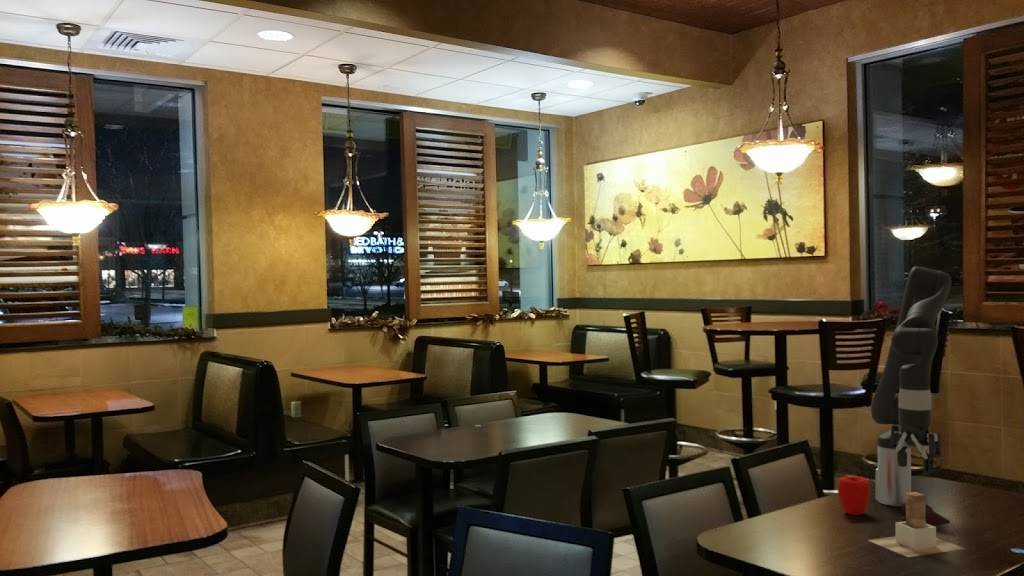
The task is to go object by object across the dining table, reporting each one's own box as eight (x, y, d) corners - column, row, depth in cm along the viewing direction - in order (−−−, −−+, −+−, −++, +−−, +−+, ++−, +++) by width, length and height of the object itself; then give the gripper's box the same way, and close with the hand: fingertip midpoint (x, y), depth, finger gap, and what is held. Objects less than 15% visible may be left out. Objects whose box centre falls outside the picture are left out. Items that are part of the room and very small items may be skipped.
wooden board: (867, 543, 219) (867, 540, 219) (922, 536, 224) (922, 532, 224) (907, 561, 205) (907, 557, 205) (965, 552, 211) (965, 548, 211)
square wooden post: (906, 539, 216) (905, 493, 216) (916, 538, 217) (915, 491, 217) (915, 543, 213) (915, 496, 212) (925, 542, 214) (925, 495, 213)
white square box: (895, 541, 217) (895, 522, 217) (916, 539, 219) (916, 520, 219) (915, 549, 211) (914, 529, 211) (936, 546, 213) (936, 527, 213)
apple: (855, 507, 252) (854, 471, 252) (877, 515, 244) (877, 478, 244) (831, 511, 249) (831, 474, 249) (852, 519, 241) (852, 481, 241)
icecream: (959, 510, 226) (910, 502, 239) (941, 506, 223) (893, 498, 236) (957, 536, 225) (908, 527, 238) (939, 533, 222) (890, 524, 235)
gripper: (948, 409, 209) (949, 475, 209) (905, 401, 222) (906, 462, 223) (924, 411, 206) (924, 477, 207) (882, 403, 220) (882, 465, 220)
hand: (915, 470), depth 215 cm, fingers open, 8 cm apart
